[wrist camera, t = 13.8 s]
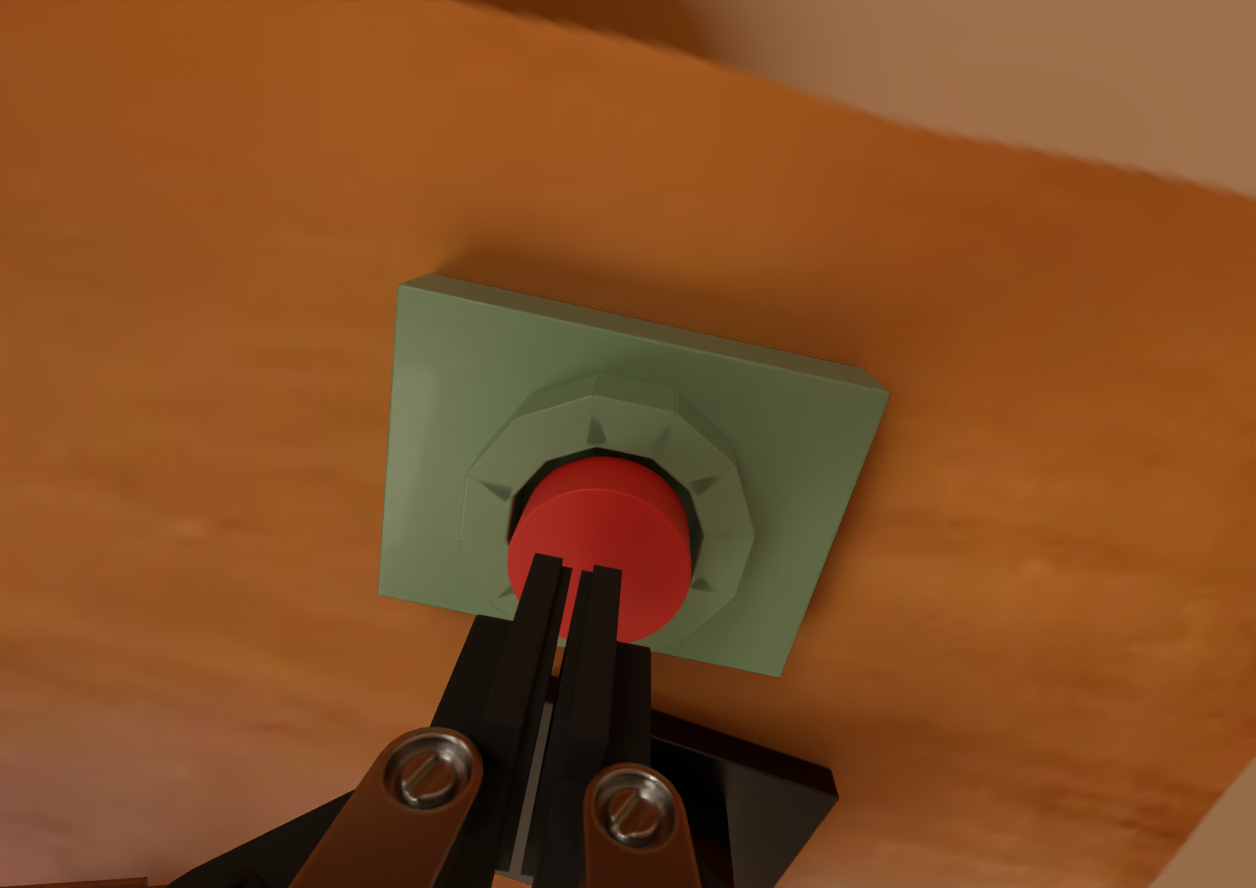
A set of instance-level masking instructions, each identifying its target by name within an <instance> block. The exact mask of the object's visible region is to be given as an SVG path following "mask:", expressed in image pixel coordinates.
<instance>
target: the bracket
mask: <svg viewBox="0 0 1256 888" xmlns="http://www.w3.org/2000/svg"><path fill="white" fill-rule="evenodd" d="M557 683H558V678H557V677H554V676H550V680H549V685H548V690H547V695H546V699H545V704H544V709H543V714H542V718H541V723H540V728H539V732H538V737H537V742H536V747H535V751H534V756H533V761H532V765H531V770H530V775H529V780H528V784H527V789H526V794H525V798H524V803H523V808H522V813H521V817H520V822H519V827H518V831H517V836H516V841H515V846H514V850H513V855H512V860H511V865H510V869H509V872H503V871H497V870H495V874H498V875H502V876H505V877H508V878H511V879H515V880H518V881H521V882H524V883H528V884H531V885H532V883H533V877H532V876H526V875H520V873H521V868H522V862H523V857H524V852H525V847H526V842H527V837H528V831H529V826H530V821H531V816H532V811H533V806H534V801H535V796H536V790H537V785H538V780H539V775H540V770H541V765H542V760H543V754H544V749H545V744H546V739H547V734H548V729H549V724H550V718H551V713H552V708H553V703H554V698H555V693H556V688H557ZM651 769H654V770H656V771H658V772H659V773H660V774H662V775H663V776H664V777H665V778H666V779H668V780H669V781H670V782H671V783H672V784H673V786H674V787H675V789H676V790H677V791H678V793H679V794H680V796H681V799H682V801H683V804H684V807H685V810H686V814H687V819H688V824H689V829H690V834H691V838H692V843H693V848H694V851H695V852H696V853H697V855H698V856H699V857H700V858H701V859H702V860H703V861H704V862H705V864H706V865H707V866H708V867H709V868H710V869H711V870H712V871H713V872H714V874H715V875H716V876H717V877H718V878H719V879H720V880H721V881H722V883H723V884H724V885H725V886H726V887H727V888H773V887H774V886H775V885H776V883H777V882H778V881H779V879H780V878H781V876H782V875H783V874H784V872H785V871H786V870H787V868H788V867H789V866H790V864H791V863H792V862H793V860H794V859H795V858H796V856H797V855H798V853H799V852H800V851H801V849H802V848H803V847H804V845H805V844H806V843H807V841H808V840H809V839H810V837H811V836H812V835H813V833H814V832H815V830H816V829H817V828H818V826H819V825H820V824H821V822H822V821H823V820H824V818H825V817H826V816H827V814H828V813H829V812H830V810H831V809H832V808H833V806H834V805H835V803H836V802H837V801H838V799H839V796H838V792H837V789H836V786H835V782H834V779H833V775H832V772H831V770H830V769H828V768H825V767H822V766H819V765H816V764H813V763H810V762H807V761H804V760H801V759H798V758H795V757H792V756H789V755H786V754H783V753H780V752H777V751H774V750H771V749H768V748H765V747H762V746H759V745H756V744H753V743H750V742H747V741H744V740H741V739H738V738H735V737H732V736H729V735H726V734H724V733H721V732H718V731H715V730H712V729H709V728H706V727H703V726H700V725H697V724H694V723H691V722H688V721H685V720H682V719H679V718H676V717H673V716H670V715H667V714H664V713H661V712H658V711H655V710H652V709H651Z"/></svg>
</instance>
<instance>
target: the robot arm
mask: <svg viewBox="0 0 1256 888" xmlns="http://www.w3.org/2000/svg"><path fill="white" fill-rule="evenodd" d="M562 563H563V558H560V557H555V556H550V555H545V554H540V553H535V555H534V558H533V561H532V564H531V567H530V570H529V573H528V576H527V579H526V582H525V585H524V588H523V591H522V594H521V597H520V600H519V604H518V607H517V610H516V613H515V616H514V619H513V621H512V620H507V619H501V618H496V617H491V616H486V615H481V614H478V615H477V616H476V618H475V620H474V622H473V625H472V627H471V629H470V632H469V634H468V637H467V639H466V641H465V644H464V646H463V649H462V651H461V653H460V656H459V658H458V660H457V663H456V665H455V668H454V670H453V672H452V675H451V677H450V680H449V682H448V684H447V687H446V689H445V692H444V694H443V696H442V699H441V701H440V703H439V706H438V708H437V711H436V713H435V715H434V718H433V720H432V723H431V725H430V727H426V728H419V729H416V730H413V731H410V732H407V733H405V734H403V735H401V736H400V737H398V738H397V739H395V740H393V741H392V742H390V744H389V745H388V746H387V747H386V748H385V749H384V750H383V751H382V752H381V753H380V754H379V756H378V757H377V759H376V760H375V762H374V763H373V765H372V766H371V768H370V769H369V770H368V772H367V773H366V775H365V776H364V778H363V779H362V781H361V782H360V784H359V785H358V786H357V788H356V789H355V790H353V791H351V792H348V793H346V794H344V795H342V796H340V797H338V798H336V799H334V800H332V801H330V802H328V803H326V804H324V805H322V806H320V807H318V808H316V809H314V810H312V811H310V812H308V813H306V814H304V815H302V816H300V817H298V818H296V819H294V820H292V821H290V822H288V823H286V824H283V825H281V826H279V827H277V828H275V829H273V830H271V831H269V832H267V833H265V834H263V835H261V836H259V837H257V838H255V839H253V840H251V841H249V842H247V843H245V844H243V845H241V846H239V847H237V848H235V849H233V850H231V851H229V852H227V853H225V854H223V855H220V856H218V857H216V858H214V859H212V860H210V861H208V862H206V863H204V864H202V865H200V866H198V867H196V868H194V869H192V870H191V871H189V872H187V873H186V874H184V875H183V876H181V877H179V878H178V879H176V880H175V881H173V882H171V883H170V884H169V885H159V886H148V881H147V877H143V878H128V879H113V880H98V881H83V882H68V883H53V884H38V885H23V886H8V887H0V888H491V886H492V882H493V877H494V873H495V870H497V871H503V872H509V869H510V865H511V860H512V855H513V850H514V846H515V841H516V836H517V831H518V827H519V822H520V817H521V813H522V808H523V803H524V798H525V794H526V789H527V784H528V780H529V775H530V770H531V765H532V761H533V756H534V751H535V747H536V742H537V737H538V732H539V728H540V723H541V718H542V714H543V709H544V704H545V699H546V695H547V690H548V685H549V680H550V676H551V671H552V666H553V661H554V656H555V651H556V647H557V642H558V637H559V632H560V627H561V622H562V618H563V613H564V608H565V603H566V598H567V594H568V589H569V584H570V579H571V574H572V569H573V568H571V567H566V566H562ZM621 581H622V570H620V569H615V568H610V567H605V566H600V565H595V564H594V567H593V571H592V572H591V571H586V570H582V571H581V576H580V580H579V585H578V590H577V594H576V599H575V604H574V608H573V613H572V618H571V622H570V627H569V632H568V636H567V641H566V646H565V650H564V655H563V660H562V664H561V669H560V674H559V678H558V683H557V688H556V693H555V698H554V703H553V708H552V713H551V718H550V724H549V729H548V734H547V739H546V744H545V749H544V754H543V760H542V765H541V770H540V775H539V780H538V785H537V790H536V796H535V801H534V806H533V811H532V816H531V821H530V826H529V831H528V837H527V842H526V847H525V852H524V857H523V862H522V868H521V873H520V875H526V876H532V877H533V883H532V888H727V887H726V886H725V885H724V884H723V883H722V881H721V880H720V879H719V878H718V877H717V876H716V875H715V874H714V872H713V871H712V870H711V869H710V868H709V867H708V866H707V865H706V864H705V862H704V861H703V860H702V859H701V858H700V857H699V856H698V855H697V853H696V852H695V851H694V848H693V843H692V838H691V834H690V829H689V824H688V819H687V814H686V810H685V807H684V804H683V801H682V799H681V796H680V794H679V793H678V791H677V790H676V789H675V787H674V786H673V784H672V783H671V782H670V781H669V780H668V779H666V778H665V777H664V776H663V775H662V774H660V773H659V772H658V771H656V770H654V769H651V650H650V647H646V646H640V645H635V644H630V643H625V642H620V641H617V630H618V618H619V606H620V593H621Z"/></svg>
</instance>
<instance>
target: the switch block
mask: <svg viewBox="0 0 1256 888" xmlns="http://www.w3.org/2000/svg"><path fill="white" fill-rule="evenodd" d="M889 397H890V392H889V391H888V390H887V389H886V388H885V387H884V386H883V385H881V384H880V383H879V382H878V381H877V380H876V379H875V378H873V377H872V376H871V375H870V374H869V373H868V372H867V371H865V370H864V369H862V368H858V367H853V366H849V365H844V364H839V363H835V362H830V361H826V360H821V359H817V358H812V357H808V356H803V355H799V354H794V353H790V352H785V351H781V350H776V349H772V348H767V347H763V346H758V345H754V344H749V343H745V342H740V341H736V340H731V339H726V338H722V337H717V336H713V335H708V334H704V333H699V332H695V331H690V330H686V329H681V328H677V327H672V326H668V325H663V324H659V323H654V322H650V321H645V320H641V319H636V318H632V317H627V316H623V315H618V314H613V313H609V312H604V311H600V310H595V309H591V308H586V307H582V306H577V305H573V304H568V303H564V302H559V301H555V300H550V299H546V298H541V297H537V296H532V295H528V294H523V293H519V292H514V291H510V290H505V289H500V288H496V287H491V286H487V285H482V284H478V283H473V282H469V281H464V280H460V279H455V278H451V277H446V276H442V275H437V274H433V273H431V274H427V275H424V276H421V277H419V278H416V279H413V280H410V281H407V282H404V283H401V284H399V285H398V293H397V308H396V324H395V339H394V354H393V369H392V385H391V400H390V415H389V430H388V446H387V461H386V476H385V491H384V507H383V522H382V537H381V552H380V568H379V583H378V594H379V595H381V596H386V597H391V598H395V599H400V600H405V601H410V602H415V603H420V604H424V605H429V606H434V607H439V608H444V609H449V610H454V611H458V612H463V613H468V614H473V615H478V614H481V615H486V616H491V617H496V618H501V619H507V620H512V621H513V619H514V616H515V613H516V610H517V607H518V604H519V601H518V599H517V597H516V596H515V594H514V591H513V589H512V586H511V584H510V580H509V575H508V567H507V557H508V549H509V545H510V541H511V539H512V536H513V534H514V532H515V529H516V527H517V525H518V523H519V520H520V518H521V516H522V514H523V511H524V509H525V507H526V505H527V502H528V500H529V498H530V496H531V494H532V493H533V491H534V489H535V488H536V487H537V486H538V484H539V483H540V482H541V481H542V480H543V479H544V478H545V477H546V476H547V475H548V474H550V473H551V472H552V471H554V470H555V469H557V468H559V467H560V466H562V465H564V464H566V463H569V462H572V461H575V460H577V459H582V458H587V457H596V456H611V457H618V458H623V459H627V460H630V461H634V462H636V463H639V464H641V465H643V466H645V467H647V468H649V469H650V470H652V471H654V472H655V473H657V474H658V475H659V476H661V477H662V478H663V479H664V480H665V481H666V482H667V483H668V484H669V485H670V486H671V487H672V488H673V490H674V491H675V492H676V494H677V495H678V497H679V499H680V500H681V502H682V504H683V507H684V509H685V512H686V516H687V520H688V528H689V541H690V555H691V569H692V570H691V582H690V586H689V591H688V593H687V596H686V598H685V600H684V602H683V604H682V606H681V608H680V609H679V610H678V612H677V613H676V614H675V616H674V617H673V618H672V619H671V620H670V621H669V622H668V623H667V624H666V625H664V626H663V627H662V628H660V629H659V630H658V631H656V632H654V633H653V634H651V635H649V636H647V637H645V638H642V639H640V640H637V641H634V642H630V644H635V645H640V646H646V647H650V650H651V651H652V652H657V653H662V654H666V655H671V656H676V657H681V658H686V659H691V660H695V661H700V662H705V663H710V664H715V665H720V666H724V667H729V668H734V669H739V670H744V671H749V672H754V673H758V674H763V675H768V676H773V677H780V676H781V674H782V672H783V669H784V666H785V664H786V661H787V659H788V656H789V654H790V651H791V648H792V646H793V643H794V641H795V638H796V636H797V633H798V631H799V628H800V625H801V623H802V620H803V618H804V615H805V613H806V610H807V607H808V605H809V602H810V600H811V597H812V595H813V592H814V590H815V587H816V584H817V582H818V579H819V577H820V574H821V572H822V569H823V567H824V564H825V561H826V559H827V556H828V554H829V551H830V549H831V546H832V543H833V541H834V538H835V536H836V533H837V531H838V528H839V526H840V523H841V520H842V518H843V515H844V513H845V510H846V508H847V505H848V502H849V500H850V497H851V495H852V492H853V490H854V487H855V485H856V482H857V479H858V477H859V474H860V472H861V469H862V467H863V464H864V461H865V459H866V456H867V454H868V451H869V449H870V446H871V444H872V441H873V438H874V436H875V433H876V431H877V428H878V426H879V423H880V420H881V418H882V415H883V413H884V410H885V408H886V405H887V403H888V400H889ZM566 641H567V639H565V638H562V637H560V636H559V637H558V642H557V646H558V647H563V648H565V646H566Z"/></svg>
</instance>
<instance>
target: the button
mask: <svg viewBox="0 0 1256 888" xmlns="http://www.w3.org/2000/svg"><path fill="white" fill-rule="evenodd" d="M535 553H540V554H545V555H550V556H555V557H560V558H563V563H562V566H566V567H571V568H573V569H572V574H571V579H570V584H569V589H568V594H567V598H566V603H565V608H564V613H563V618H562V622H561V627H560V632H559V636H560V637H562V638H565V639H567V636H568V632H569V627H570V622H571V618H572V613H573V608H574V604H575V599H576V594H577V590H578V585H579V580H580V576H581V571H582V570H586V571H591V572H592V571H593V567H594V564H595V565H600V566H605V567H610V568H615V569H620V570H622V581H621V593H620V606H619V618H618V630H617V641H620V642H625V643H630V642H634V641H637V640H640V639H642V638H645V637H647V636H649V635H651V634H653V633H654V632H656V631H658V630H659V629H660V628H662V627H663V626H664V625H666V624H667V623H668V622H669V621H670V620H671V619H672V618H673V617H674V616H675V614H676V613H677V612H678V610H679V609H680V608H681V606H682V604H683V602H684V600H685V598H686V596H687V593H688V591H689V586H690V582H691V570H692V569H691V555H690V541H689V528H688V520H687V516H686V512H685V509H684V507H683V504H682V502H681V500H680V499H679V497H678V495H677V494H676V492H675V491H674V490H673V488H672V487H671V486H670V485H669V484H668V483H667V482H666V481H665V480H664V479H663V478H662V477H661V476H659V475H658V474H657V473H655V472H654V471H652V470H650V469H649V468H647V467H645V466H643V465H641V464H639V463H636V462H634V461H630V460H627V459H623V458H618V457H611V456H596V457H587V458H582V459H577V460H575V461H572V462H569V463H566V464H564V465H562V466H560V467H559V468H557V469H555V470H554V471H552V472H551V473H550V474H548V475H547V476H546V477H545V478H544V479H543V480H542V481H541V482H540V483H539V484H538V486H537V487H536V488H535V489H534V491H533V493H532V494H531V496H530V498H529V500H528V502H527V505H526V507H525V509H524V511H523V514H522V516H521V518H520V520H519V523H518V525H517V527H516V529H515V532H514V534H513V536H512V539H511V541H510V545H509V549H508V557H507V567H508V575H509V580H510V584H511V586H512V589H513V591H514V594H515V596H516V597H517V599H518V601H519V600H520V597H521V594H522V591H523V588H524V585H525V582H526V579H527V576H528V573H529V570H530V567H531V564H532V561H533V558H534V555H535Z"/></svg>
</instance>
